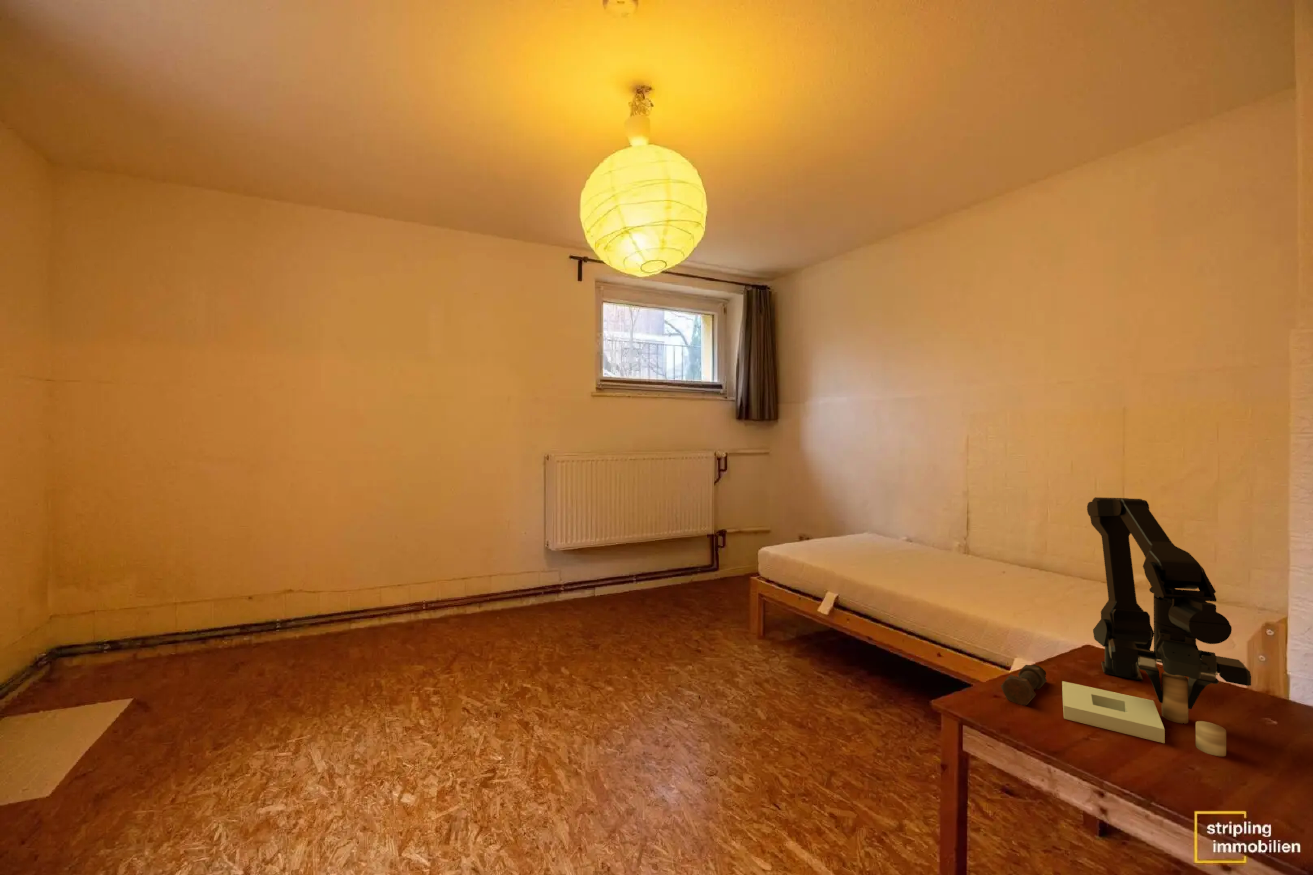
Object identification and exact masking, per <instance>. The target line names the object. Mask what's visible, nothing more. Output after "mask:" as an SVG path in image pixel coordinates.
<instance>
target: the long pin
mask: <svg viewBox="0 0 1313 875" xmlns="http://www.w3.org/2000/svg"><path fill="white" fill-rule="evenodd" d="M1188 679H1189V678H1188V677H1186V676H1181V675H1171V674H1168V673H1166V672H1165V671H1164V672H1162V673H1161V690H1162V696H1163V700H1162V703H1161V716H1162V717H1163V718H1164V719H1166V720H1168V721H1170V722H1172V723H1177V724H1183V723H1184V724H1188V723H1189V709H1188Z"/></svg>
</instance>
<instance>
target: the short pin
mask: <svg viewBox="0 0 1313 875" xmlns="http://www.w3.org/2000/svg"><path fill="white" fill-rule="evenodd" d="M1195 747H1196V749H1198V750H1199V751H1201V752H1203V753H1205V754H1208V755H1212V756H1216V757H1226V756H1227V730H1226V728H1224V727H1222V725H1218V724H1215V723H1212V722H1209V721H1203V720H1198V721H1195Z"/></svg>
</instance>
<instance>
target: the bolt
mask: <svg viewBox="0 0 1313 875" xmlns="http://www.w3.org/2000/svg"><path fill="white" fill-rule="evenodd" d="M1047 681H1048V680H1047V672H1046V670H1044V668H1042V667H1041V666H1040V665H1037V664H1025V665H1024V666H1023V667H1022V668H1021V669H1020V670H1019V671H1018V673H1017V676H1016V675H1013V674H1009V675H1008V676H1007V678H1006V679H1005V680H1004V681H1003V682H1002V684H1001V685H1000V688H1001V690H1002V692H1003V694H1004V696H1005V698H1006V700H1008V701H1009V702H1011V703H1014V704H1018V705H1021V706H1024V707H1026V706H1027V705H1029V703H1030V702H1031V701H1032V700H1033V699H1034V698H1035V696H1036V695H1037V694H1036V692H1035V691H1034V690H1040V689H1041V688H1042V687H1043V686H1044V685H1045V683H1046V682H1047Z"/></svg>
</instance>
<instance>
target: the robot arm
mask: <svg viewBox="0 0 1313 875" xmlns="http://www.w3.org/2000/svg"><path fill="white" fill-rule="evenodd" d="M1086 505H1087V506H1086V510H1087V511H1086V512H1087V515H1088V516H1089V517H1090V524H1091V526H1092V527H1093V528H1094V529H1095V530H1096V531H1097V532H1098V533H1099V535H1100V536H1101V543H1102V551H1103V552H1102V553H1103V560H1104V561H1103V563H1104V569H1105V571H1104V572H1105V579H1106V588H1107V597H1108V600H1107V602H1106V603H1105V604H1104V606H1103V607H1102V609H1101V611H1100V620H1099V621H1098V622H1097V623H1096V625H1095V626H1094V627H1093V629H1092V633H1093V639H1094V640H1095V641H1096V642H1097V643H1098V644H1100V646H1102V647H1104V661H1102V660H1101V668H1102V671H1103V674H1106V675H1110V676H1115V677H1121V678H1126V679H1131V680H1136V681H1143V680H1144V678H1143V676H1142V673H1141V671H1140V670H1142V671H1145V673H1146V674H1147V676H1148V678H1149V680H1150V681H1151V684H1152V687H1153V689H1154V692H1155V695H1156V696H1157V697H1156V698H1157V699H1158V702H1159V703H1161V704H1162V700H1163V696H1162V683H1161V679H1160V670H1159V668H1158V666H1157V663H1161V664H1162V668H1163V671H1164V672H1166V673H1168V674H1171V675H1181V676H1184V677H1186V678H1187V679H1188V710H1192V709H1193V707H1194V705H1195V704H1196V702H1197V700H1198V698H1199V696H1200V695H1201V693H1202V691H1203V690H1204V689H1205V688H1206V687H1207V686H1209V685H1211V684H1213V685H1218V684H1219V683H1220V682H1219V679H1218V677H1217V676H1218V674H1219V677H1220V678H1221V679H1223V680H1224V681H1225V682H1226V683H1230V684H1236V685H1241V686H1247V687H1249V686H1252V675H1251V674H1252V673H1251V671H1250V670H1249V669H1248V668H1247V667H1246V665H1245V664H1244V663H1243V662H1242V661H1240V659H1237V658H1230V657H1226V656H1219V655H1216V652H1212V651H1207V650H1201V649H1199V648H1198V647H1199V646H1198V645H1197V641H1199V642H1201V643H1204V644H1206V645H1207V644H1208V645H1215V644H1216V645H1217V644H1222V643H1224V642H1225V641H1227V639H1229V638H1230V637H1231V635H1232V631H1233V630H1232V629H1233V628H1232V625H1231V623H1230V621H1229V620H1228V619H1227V617H1225V616H1224V615H1223V614H1221V613H1219V612H1217V605H1216V604H1214V603H1212V602H1217V597H1216V595H1215V593H1216V592H1217V591H1216V589H1215V588H1214V586H1213V584H1212V583H1211V581H1210V579H1209V576H1208V575H1207V574H1206V571H1205V569H1204V568H1203V566H1202V565H1201V563H1199V562H1198V560H1197V559H1195V557H1194V556H1192V554H1191V553H1190V552H1188V551H1186V550H1185V549H1182V548H1181V547H1178V546H1176V545H1175V544H1174V543H1173V541H1171V539H1170V537H1169V536H1168V534H1167V533H1166V532H1165V530H1164V529H1163V528H1162V525H1160V523H1159V522H1158V520H1157V519H1156V517H1155V516H1154V515H1153V513H1152V512H1151V510H1150V504H1149V503H1148V501H1147V499H1146V500H1145V499H1142V498H1128V497H1100V496H1099V497H1098V496H1097V497H1094V498H1093V499H1092V500H1091V501H1089V502H1088V503H1087V504H1086ZM1130 535H1131V536H1132V538H1133V539H1134V541H1135V542H1136V544H1137V546H1138V547H1139V548H1140V550H1141V552H1142V553H1143V555H1144V557H1145V558H1144V562H1143V564H1142V568H1143V570H1144V574H1145V577H1146V579H1147V581H1148V582H1149V585H1151V587H1150V588H1149V592H1150V593H1151V594H1153V627H1152V625H1151V615H1150V614H1149V613H1148V611H1144V609H1143V608H1142V607H1141V606H1140V604H1138V602H1137V594H1136V584H1135V578H1134V577H1135V576H1134V569H1133V568H1134V567H1133V561H1132V551H1131V545H1130V544H1131V543H1130ZM1197 589H1198V590H1197ZM1152 643H1153V650H1151V647H1152Z"/></svg>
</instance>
